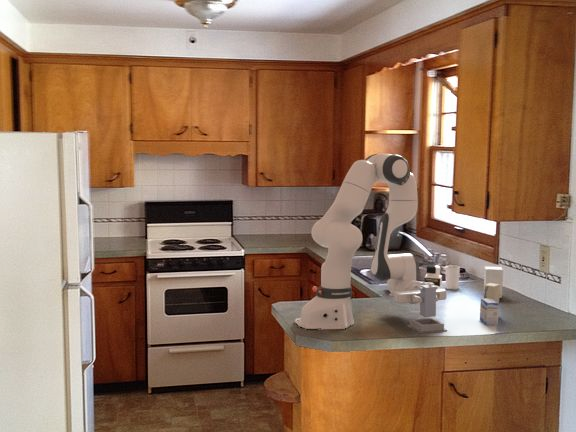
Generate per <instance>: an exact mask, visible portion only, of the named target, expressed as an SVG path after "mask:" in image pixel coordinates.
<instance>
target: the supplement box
mask: <svg viewBox="0 0 576 432" xmlns="http://www.w3.org/2000/svg"><path fill="white" fill-rule="evenodd" d="M483 270H484V271H483V272H484V273H483V274H484V275H483V286H484V285H486V284H488V283H494V284H499V285H500V289H499V299H500V298H503V281H504V280H503V278H504V277H503V275H504V274H503V273H504V269H503V267H501V266H484V269H483Z"/></svg>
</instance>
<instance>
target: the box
mask: <svg viewBox="0 0 576 432" xmlns="http://www.w3.org/2000/svg"><path fill="white" fill-rule="evenodd" d="M499 289H500V285H499V284H494V283H488V284H486V285H484V284H483V298H490V299H493V300H494V301H496V302H497V303H499V304H500V298H499ZM499 316H500V313H499V310H498V317H499Z"/></svg>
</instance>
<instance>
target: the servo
mask: <svg viewBox="0 0 576 432" xmlns="http://www.w3.org/2000/svg"><path fill="white" fill-rule="evenodd" d="M436 289H438V287H436V286H433V285H432V283H429V285H420V287H419V290H420V297H423V298H424V302H423V303H419V304H420V305H419V307H420V308H419V315H421V316H422V317H424V318H435V317H436V316H437V301H436Z"/></svg>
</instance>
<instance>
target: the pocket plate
mask: <svg viewBox="0 0 576 432" xmlns="http://www.w3.org/2000/svg"><path fill="white" fill-rule="evenodd" d="M406 326H407V327H408V328H409V329H411V330H413V331H415V332H417V333H418V334H427V333H438V332H439V333H440V332H441V333H442V332H447V331H448V330H447V329H446V328H445V324H444V323H443V322H441V321H439V320H437V319H435V318H434V317H424V318H415V319H412V318H411V319H410V322H409V324H407V325H406Z"/></svg>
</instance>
